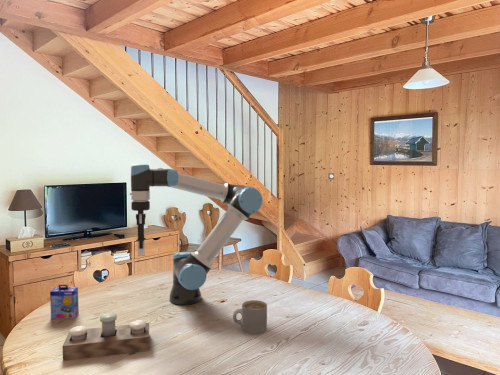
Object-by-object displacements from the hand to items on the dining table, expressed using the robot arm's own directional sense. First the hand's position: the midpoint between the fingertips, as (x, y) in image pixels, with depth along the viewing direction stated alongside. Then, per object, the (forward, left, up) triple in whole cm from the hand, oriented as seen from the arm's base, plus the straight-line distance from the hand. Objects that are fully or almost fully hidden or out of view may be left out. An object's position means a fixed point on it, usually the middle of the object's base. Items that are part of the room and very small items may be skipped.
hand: (141, 255), depth 162 cm
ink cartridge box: (+32, -7, -27) cm, 42 cm away
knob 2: (+1, +26, -26) cm, 37 cm away
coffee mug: (-42, +24, -27) cm, 55 cm away
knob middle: (+11, +26, -22) cm, 36 cm away
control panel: (+11, +26, -26) cm, 39 cm away
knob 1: (+21, +26, -26) cm, 42 cm away
